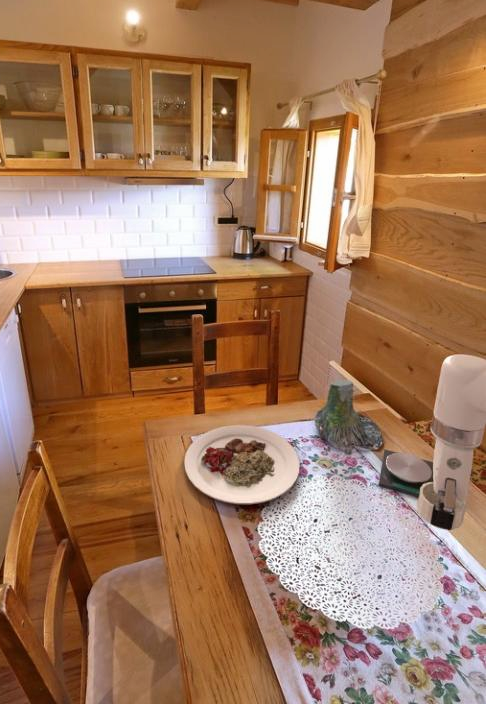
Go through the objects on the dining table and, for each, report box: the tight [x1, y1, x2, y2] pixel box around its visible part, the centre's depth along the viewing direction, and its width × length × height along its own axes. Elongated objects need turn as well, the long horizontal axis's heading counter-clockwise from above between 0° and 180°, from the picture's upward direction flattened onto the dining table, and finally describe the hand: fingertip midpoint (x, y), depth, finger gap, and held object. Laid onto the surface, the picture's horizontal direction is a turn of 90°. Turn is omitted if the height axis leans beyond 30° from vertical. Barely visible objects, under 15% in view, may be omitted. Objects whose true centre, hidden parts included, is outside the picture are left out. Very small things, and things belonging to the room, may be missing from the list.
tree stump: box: [313, 379, 384, 454], centre depth 119 cm, size 18×20×18 cm
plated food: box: [183, 424, 300, 505], centre depth 107 cm, size 30×30×3 cm
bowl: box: [416, 482, 467, 531], centre depth 74 cm, size 7×7×4 cm
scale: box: [378, 448, 433, 499], centre depth 102 cm, size 12×14×2 cm
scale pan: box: [386, 452, 432, 484], centre depth 101 cm, size 10×10×2 cm
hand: (440, 509), depth 74 cm, fingers closed on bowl, 7 cm apart
